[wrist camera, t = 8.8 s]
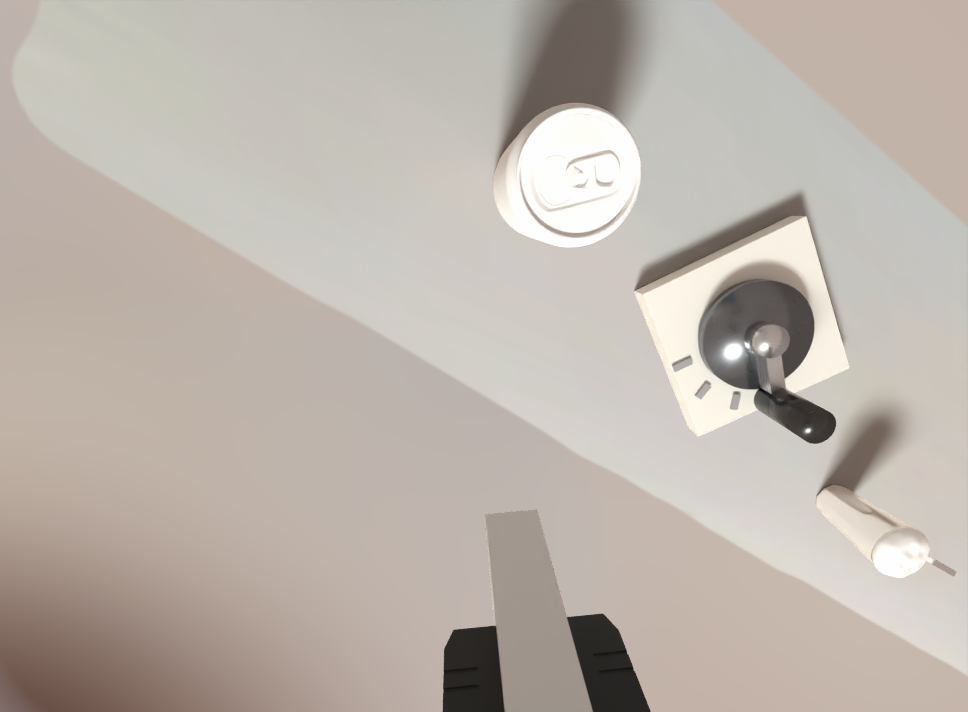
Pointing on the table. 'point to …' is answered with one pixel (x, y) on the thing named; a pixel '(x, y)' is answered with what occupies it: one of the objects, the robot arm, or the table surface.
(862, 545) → the milkshake
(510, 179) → the beverage can
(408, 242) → the table surface
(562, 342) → the table surface
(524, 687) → the robot arm
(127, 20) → the table surface
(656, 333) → the dial board
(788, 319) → the dial
